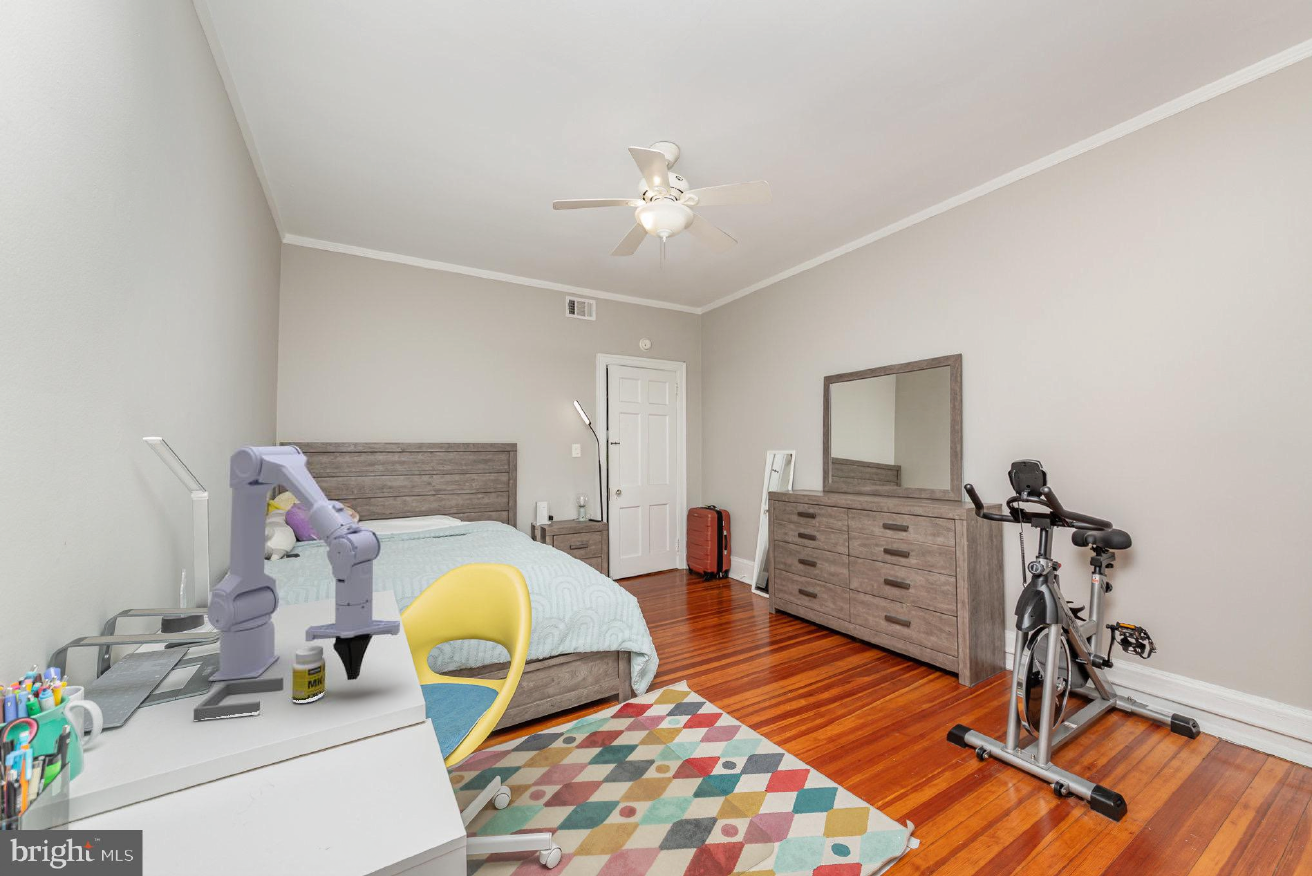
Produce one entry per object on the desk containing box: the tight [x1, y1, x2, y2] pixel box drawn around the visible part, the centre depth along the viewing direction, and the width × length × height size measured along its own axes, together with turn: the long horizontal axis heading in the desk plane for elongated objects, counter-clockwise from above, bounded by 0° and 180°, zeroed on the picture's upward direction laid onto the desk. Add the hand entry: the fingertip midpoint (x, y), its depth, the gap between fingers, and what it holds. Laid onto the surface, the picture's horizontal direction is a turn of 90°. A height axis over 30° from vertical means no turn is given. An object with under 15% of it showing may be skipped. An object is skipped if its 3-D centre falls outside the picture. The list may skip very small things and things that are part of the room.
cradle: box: [193, 677, 284, 721], centre depth 90 cm, size 9×9×2 cm
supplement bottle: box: [291, 645, 326, 701], centre depth 92 cm, size 5×5×8 cm
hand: (353, 677), depth 94 cm, fingers closed
